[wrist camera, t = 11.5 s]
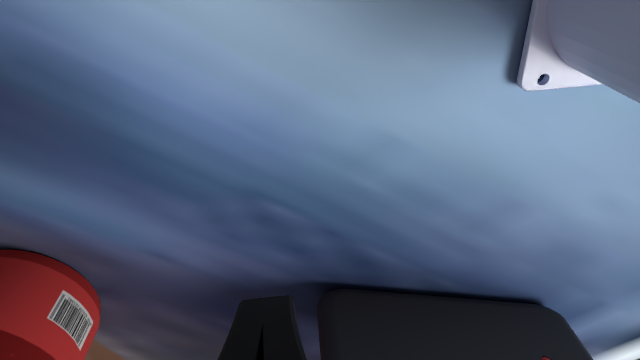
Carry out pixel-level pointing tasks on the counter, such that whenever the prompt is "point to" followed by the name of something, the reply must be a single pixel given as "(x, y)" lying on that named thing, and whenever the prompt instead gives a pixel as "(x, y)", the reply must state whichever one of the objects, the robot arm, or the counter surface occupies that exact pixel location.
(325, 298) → the leaning round-cornered charcoal block
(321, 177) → the counter surface
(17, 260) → the canned food
